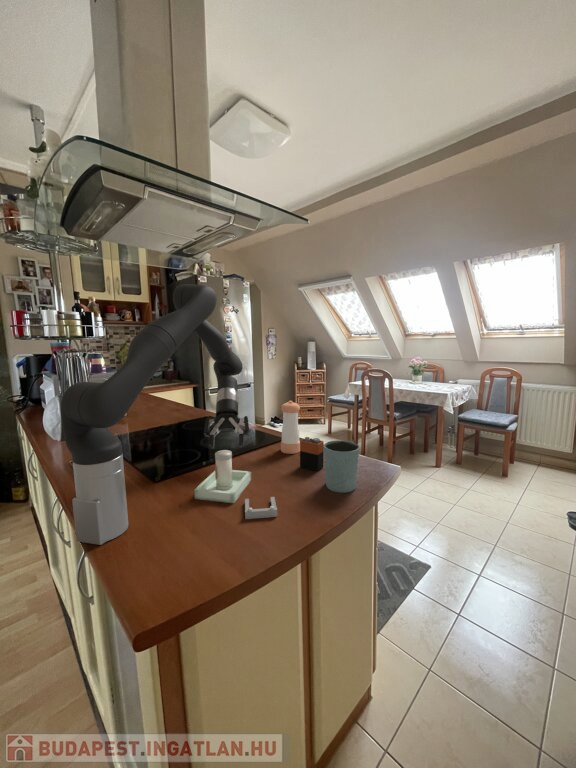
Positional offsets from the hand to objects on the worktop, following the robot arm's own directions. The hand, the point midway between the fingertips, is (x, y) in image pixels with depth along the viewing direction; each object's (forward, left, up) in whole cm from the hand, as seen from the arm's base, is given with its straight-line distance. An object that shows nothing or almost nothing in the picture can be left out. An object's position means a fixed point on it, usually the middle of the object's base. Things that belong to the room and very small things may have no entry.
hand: (226, 447), depth 100 cm
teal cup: (-2, -36, -9) cm, 37 cm away
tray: (-11, -4, -8) cm, 14 cm away
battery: (+9, -26, -9) cm, 29 cm away
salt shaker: (+23, -16, -8) cm, 29 cm away
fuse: (-11, -4, -8) cm, 14 cm away
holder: (-19, -17, -8) cm, 26 cm away
